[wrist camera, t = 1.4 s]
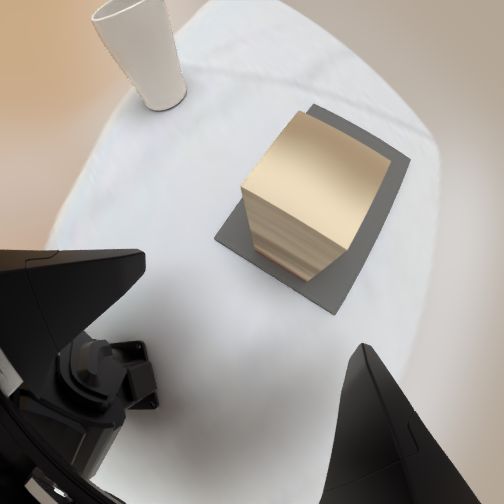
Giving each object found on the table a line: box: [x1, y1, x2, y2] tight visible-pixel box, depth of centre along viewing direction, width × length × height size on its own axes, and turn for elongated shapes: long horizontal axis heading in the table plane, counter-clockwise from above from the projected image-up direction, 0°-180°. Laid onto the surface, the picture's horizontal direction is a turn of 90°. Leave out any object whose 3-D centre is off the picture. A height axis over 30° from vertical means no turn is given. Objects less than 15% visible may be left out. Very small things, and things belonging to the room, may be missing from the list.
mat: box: [214, 104, 411, 315], centre depth 24 cm, size 18×12×1 cm, turn 147°
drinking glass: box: [91, 0, 186, 111], centre depth 21 cm, size 7×7×15 cm
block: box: [240, 111, 391, 282], centre depth 17 cm, size 5×5×12 cm
